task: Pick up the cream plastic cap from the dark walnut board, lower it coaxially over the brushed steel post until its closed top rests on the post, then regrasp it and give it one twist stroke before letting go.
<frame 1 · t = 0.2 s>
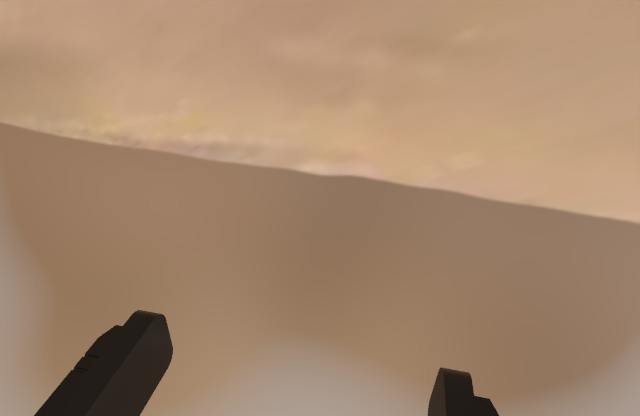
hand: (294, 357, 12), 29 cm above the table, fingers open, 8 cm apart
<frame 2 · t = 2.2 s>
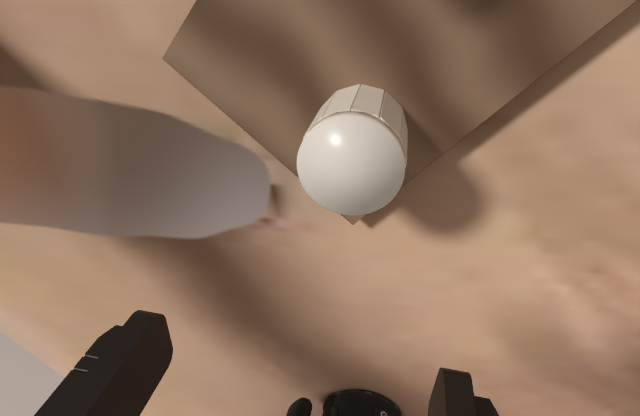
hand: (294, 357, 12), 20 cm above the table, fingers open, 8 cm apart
post board: (374, 24, 25), on the table
cap: (361, 130, 27), point 1 cm above the table, touching post board
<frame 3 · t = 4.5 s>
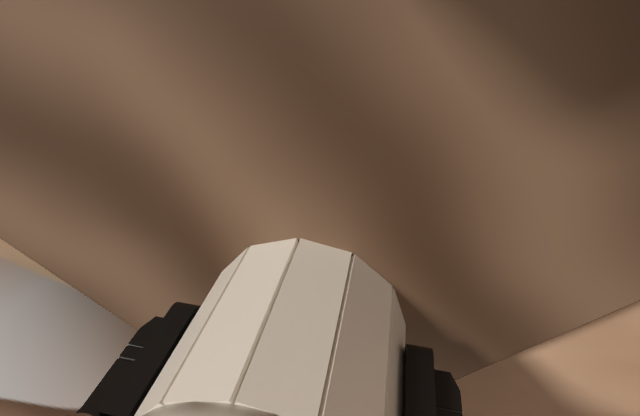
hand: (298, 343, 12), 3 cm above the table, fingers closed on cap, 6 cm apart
post board: (325, 107, 11), on the table
cap: (307, 315, 13), point 1 cm above the table, touching gripper, post board
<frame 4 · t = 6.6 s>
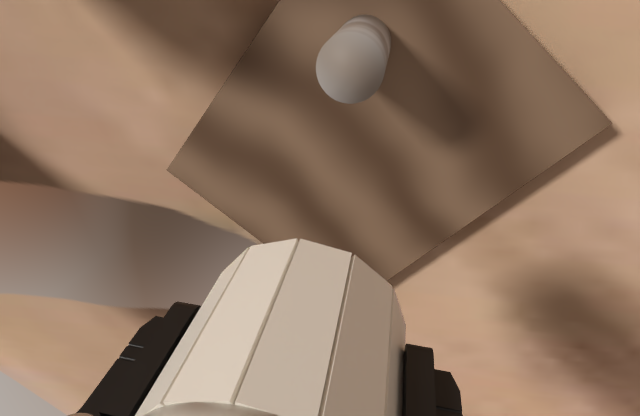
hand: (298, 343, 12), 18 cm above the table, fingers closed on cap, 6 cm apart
post board: (359, 141, 27), on the table
cap: (307, 316, 13), point 16 cm above the table, touching gripper
when the fingers open (5 cm above the table, at t = 9.3 s): cap drops 1 cm, resting on post board.
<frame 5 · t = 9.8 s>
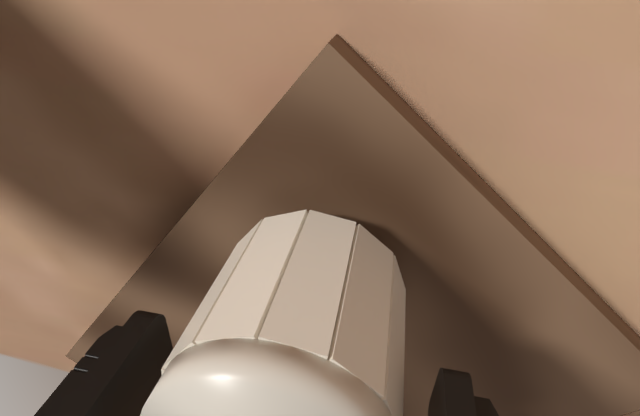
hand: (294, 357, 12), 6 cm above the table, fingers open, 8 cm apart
post board: (321, 345, 20), on the table
cap: (316, 283, 14), point 3 cm above the table, touching post board
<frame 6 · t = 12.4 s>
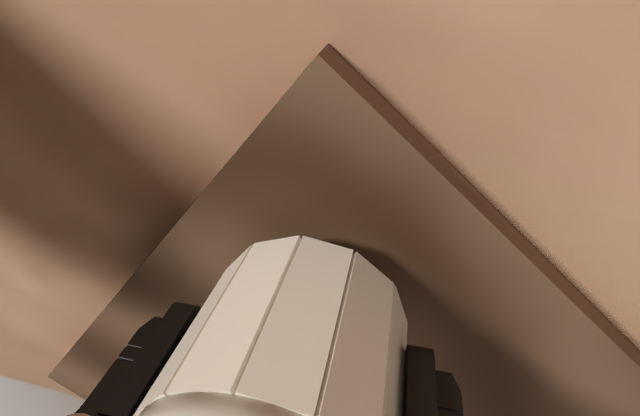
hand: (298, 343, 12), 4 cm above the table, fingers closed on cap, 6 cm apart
post board: (315, 368, 19), on the table
cap: (310, 313, 13), point 3 cm above the table, touching gripper, post board
when the fingers open (4 cm above the table, at t = 13.8 s): cap stays where it is, resting on post board.
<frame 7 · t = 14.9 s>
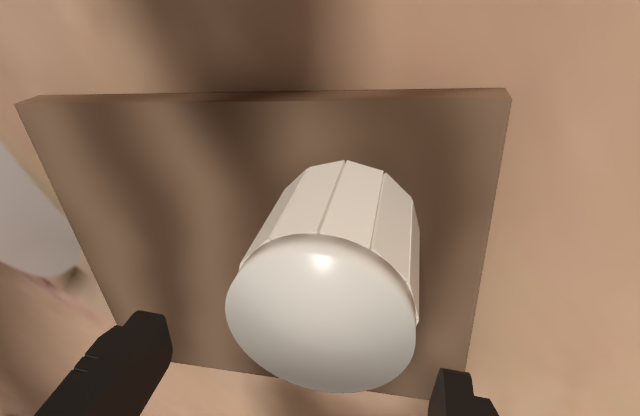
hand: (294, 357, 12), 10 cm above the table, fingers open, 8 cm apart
post board: (268, 252, 23), on the table
cap: (346, 225, 17), point 2 cm above the table, touching post board
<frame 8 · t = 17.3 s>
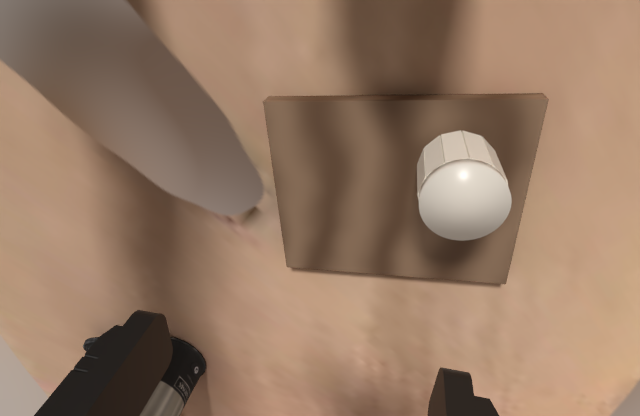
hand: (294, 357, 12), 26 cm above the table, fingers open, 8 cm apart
post board: (393, 191, 37), on the table
cap: (456, 166, 32), point 2 cm above the table, touching post board
milk frother: (152, 348, 59), on the table
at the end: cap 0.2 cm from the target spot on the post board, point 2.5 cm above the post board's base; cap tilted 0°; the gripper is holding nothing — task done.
